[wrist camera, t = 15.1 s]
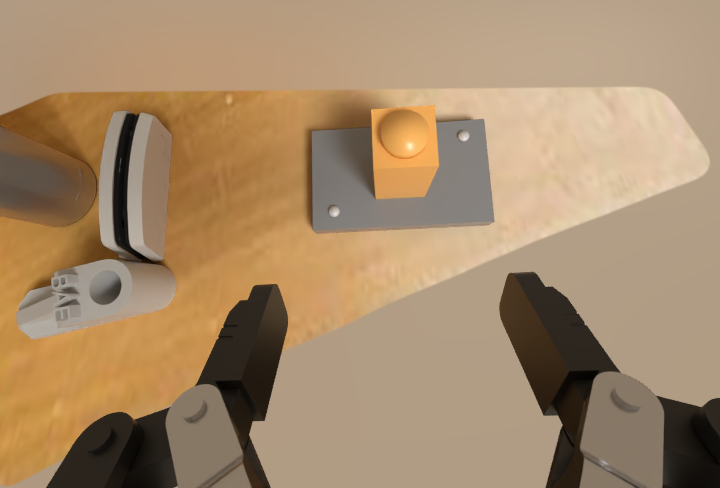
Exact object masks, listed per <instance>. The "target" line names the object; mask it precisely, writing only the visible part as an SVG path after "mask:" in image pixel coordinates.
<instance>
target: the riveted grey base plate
mask: <svg viewBox="0 0 720 488" xmlns="http://www.w3.org/2000/svg"><path fill="white" fill-rule="evenodd" d="M436 129H437V143H438V157H439V167H438V169H437V171H436V174H435V176H434V178H433V180H432V182H431V185H430V187H429V189H428V191H427V193H426V195H425V197H411V198H391V199H376V197H375V184H374V170H373V145H372V127H363V128H348V129H334V130H320V131H312V200H313V231H314V232H315V233H337V232H358V231H379V230H400V229H421V228H442V227H463V226H484V225H490V224H491V223H493V222H494V212H493V202H492V192H491V183H490V173H489V163H488V153H487V143H486V134H485V124H484V119H477V120H463V121H449V122H436Z"/></svg>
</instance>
